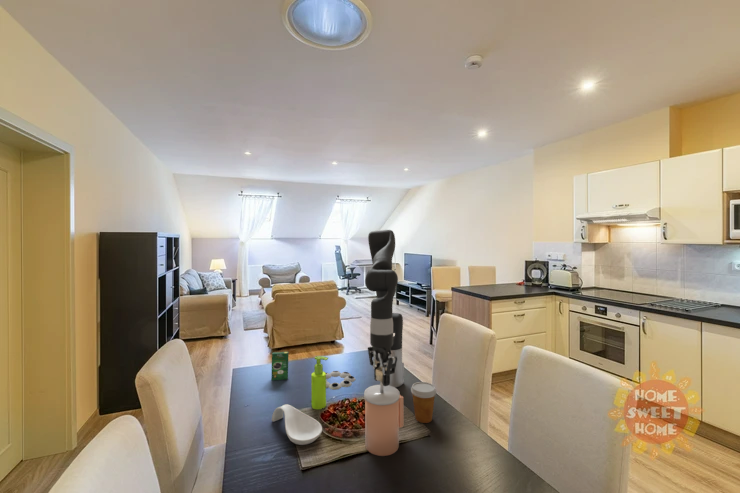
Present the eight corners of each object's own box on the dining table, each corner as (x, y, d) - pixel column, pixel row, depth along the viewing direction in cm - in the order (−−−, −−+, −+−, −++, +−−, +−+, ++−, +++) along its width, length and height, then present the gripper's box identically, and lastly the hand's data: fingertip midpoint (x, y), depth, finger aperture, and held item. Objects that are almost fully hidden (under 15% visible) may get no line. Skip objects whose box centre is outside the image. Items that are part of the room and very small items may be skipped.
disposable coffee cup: (437, 414, 121) (437, 383, 121) (434, 427, 112) (434, 394, 112) (413, 409, 124) (413, 379, 124) (408, 422, 115) (408, 390, 115)
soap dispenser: (325, 410, 124) (325, 360, 124) (309, 408, 125) (308, 359, 125) (330, 403, 130) (330, 355, 130) (314, 401, 131) (314, 353, 131)
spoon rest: (329, 438, 106) (329, 417, 106) (300, 456, 98) (300, 433, 98) (289, 413, 122) (289, 395, 122) (261, 426, 114) (261, 407, 114)
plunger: (383, 388, 106) (383, 366, 105) (390, 392, 102) (390, 370, 102) (373, 391, 103) (373, 368, 103) (380, 396, 100) (380, 373, 100)
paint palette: (306, 382, 150) (306, 378, 150) (336, 369, 165) (336, 365, 165) (334, 395, 138) (334, 390, 138) (363, 380, 153) (363, 376, 152)
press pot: (391, 427, 112) (391, 380, 112) (412, 445, 102) (412, 393, 102) (357, 441, 105) (357, 390, 104) (377, 461, 95) (377, 405, 95)
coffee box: (288, 377, 155) (288, 350, 155) (288, 379, 152) (288, 352, 152) (271, 378, 153) (271, 352, 153) (271, 381, 151) (271, 354, 151)
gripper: (404, 334, 99) (404, 388, 99) (378, 324, 111) (378, 372, 111) (385, 338, 95) (385, 394, 95) (360, 327, 107) (360, 377, 107)
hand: (381, 382), depth 103 cm, fingers open, 4 cm apart
